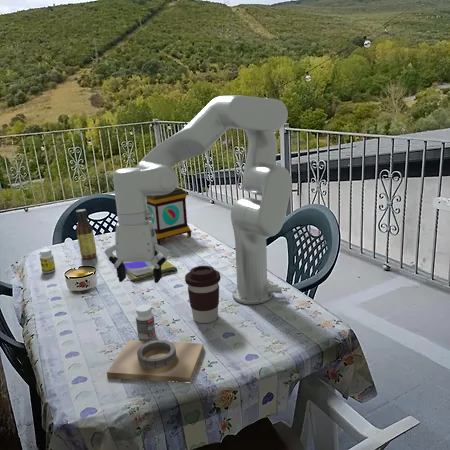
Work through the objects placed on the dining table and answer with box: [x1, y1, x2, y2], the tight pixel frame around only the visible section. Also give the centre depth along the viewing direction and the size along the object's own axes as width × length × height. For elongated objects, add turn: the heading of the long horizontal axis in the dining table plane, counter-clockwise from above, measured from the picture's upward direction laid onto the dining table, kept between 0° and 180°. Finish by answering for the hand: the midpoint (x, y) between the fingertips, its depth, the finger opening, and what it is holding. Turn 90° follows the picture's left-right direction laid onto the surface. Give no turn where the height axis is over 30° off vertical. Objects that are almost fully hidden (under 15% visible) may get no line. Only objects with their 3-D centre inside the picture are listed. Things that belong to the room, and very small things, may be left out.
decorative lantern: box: [146, 186, 192, 246], centre depth 198 cm, size 20×20×30 cm
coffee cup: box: [184, 265, 221, 324], centre depth 128 cm, size 10×10×15 cm
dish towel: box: [123, 252, 178, 282], centre depth 170 cm, size 18×24×3 cm
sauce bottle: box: [75, 208, 98, 260], centre depth 181 cm, size 7×6×20 cm
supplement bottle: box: [39, 248, 56, 274], centre depth 170 cm, size 5×5×8 cm
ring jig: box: [106, 339, 205, 383], centre depth 109 cm, size 20×14×4 cm
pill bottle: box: [135, 304, 156, 341], centre depth 121 cm, size 5×5×8 cm
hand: (140, 280), depth 117 cm, fingers open, 9 cm apart
